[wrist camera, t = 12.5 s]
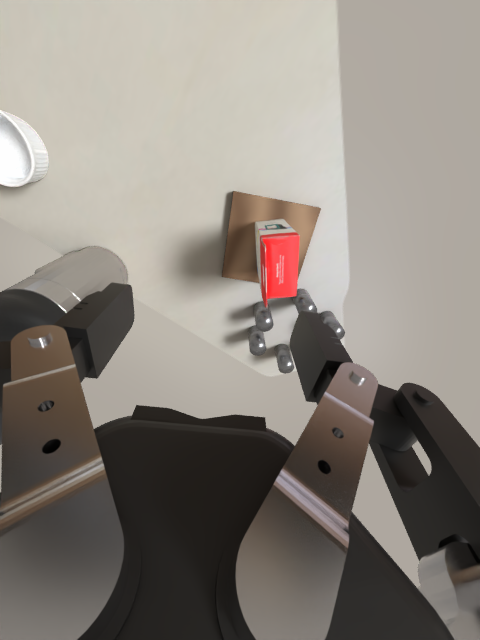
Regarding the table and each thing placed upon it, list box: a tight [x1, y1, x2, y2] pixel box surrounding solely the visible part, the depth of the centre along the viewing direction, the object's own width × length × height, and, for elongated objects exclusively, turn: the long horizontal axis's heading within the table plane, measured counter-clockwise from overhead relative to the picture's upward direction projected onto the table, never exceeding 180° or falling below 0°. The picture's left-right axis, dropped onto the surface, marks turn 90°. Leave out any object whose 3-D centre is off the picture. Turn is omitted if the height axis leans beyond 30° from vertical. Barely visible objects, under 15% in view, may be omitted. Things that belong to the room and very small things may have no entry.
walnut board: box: [222, 191, 321, 283], centre depth 41 cm, size 14×14×1 cm
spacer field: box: [249, 289, 345, 373], centre depth 48 cm, size 17×17×6 cm
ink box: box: [255, 219, 300, 308], centre depth 34 cm, size 8×5×15 cm, turn 5°
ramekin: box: [0, 110, 49, 187], centre depth 32 cm, size 9×9×4 cm
